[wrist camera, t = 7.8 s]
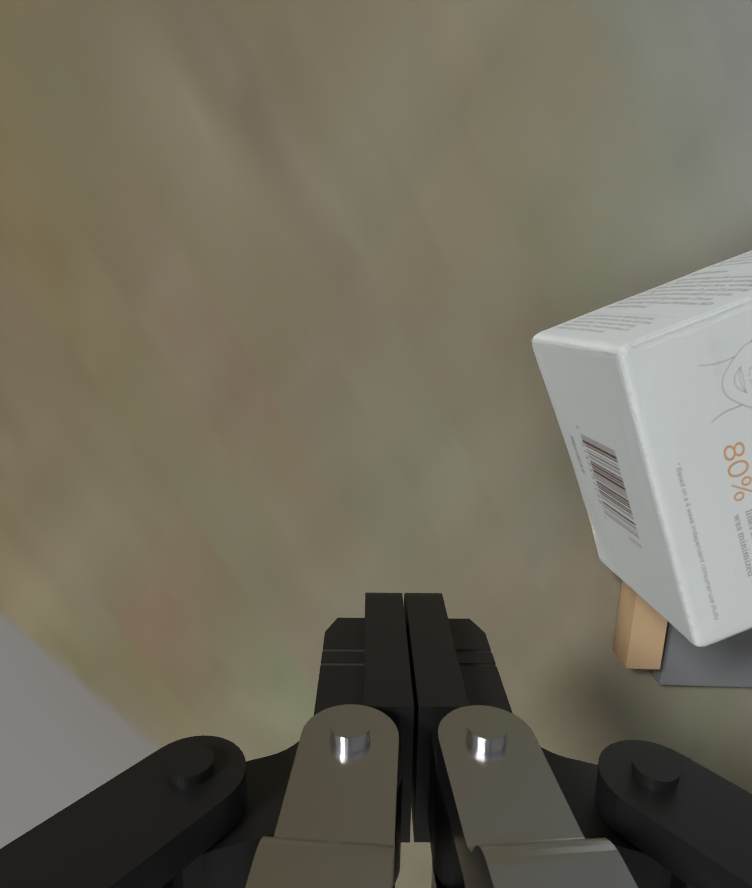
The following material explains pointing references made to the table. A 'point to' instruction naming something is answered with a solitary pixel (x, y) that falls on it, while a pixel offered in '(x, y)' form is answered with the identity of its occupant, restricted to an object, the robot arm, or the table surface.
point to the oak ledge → (638, 632)
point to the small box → (666, 441)
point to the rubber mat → (706, 661)
